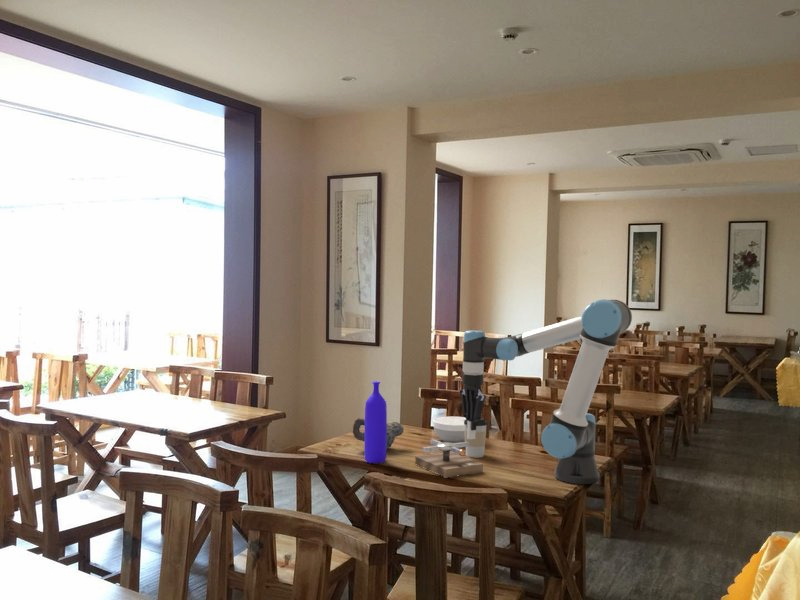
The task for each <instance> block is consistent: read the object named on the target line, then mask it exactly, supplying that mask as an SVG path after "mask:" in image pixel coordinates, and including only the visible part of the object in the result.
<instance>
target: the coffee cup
mask: <svg viewBox="0 0 800 600" xmlns="http://www.w3.org/2000/svg"><path fill="white" fill-rule="evenodd" d="M464 425H465V429H464V432H465V442H469V446H468V447H465V452H466V453H465V457H467V458H483V457H485V456H484V455H485V447H486V439H487V425H488V421H487V420H485V418H484V417H482V416H481V419H480V420H478V421H477V422H476V434H475V439H467V420H464Z"/></svg>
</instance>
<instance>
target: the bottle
mask: <svg viewBox="0 0 800 600" xmlns="http://www.w3.org/2000/svg"><path fill="white" fill-rule="evenodd" d="M372 384H373V391H372V394H370V396H368V398H367V399H366V401H365V404H364V405H365V407H364V419H365V426H364V432H365V439H364V441H363V443H364V461H365V460H366V461H367V462H369V463H368V464H371V463H379V464H382V463H381V462H384V463H385V462H386V459H387V449H386V438H387V423H388V417H387V415H388V414H387V412H388V409H387V401H386V400H385V398H384V397H383V396H382V395H381V393H380V384H381V381H378V380H377V381H372ZM366 461H365V462H366ZM367 462H366V463H367Z"/></svg>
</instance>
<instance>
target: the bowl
mask: <svg viewBox="0 0 800 600" xmlns="http://www.w3.org/2000/svg"><path fill="white" fill-rule="evenodd" d="M464 420H466V418H465V417H463V416H448V415H447V416H440V417H435V418H433V420H432V426H433V430H434V432H435V434H436V435H437V437H438V438H439V439H441V442H442V443H461V442H465V432H464V429H465V425H464Z"/></svg>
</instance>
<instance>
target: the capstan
mask: <svg viewBox="0 0 800 600" xmlns="http://www.w3.org/2000/svg"><path fill="white" fill-rule="evenodd" d="M430 445H431V446H423V447H422V452H423V453H429V452H435V451H436V452H437V451H441V452H443V451H450V452H453V453H456V454H458V455H460V456H464V457H465V456H466V449H463V448H466V447H468V446H469V442H461V443H445V442H443V441H439V440H437V439H430Z"/></svg>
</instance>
